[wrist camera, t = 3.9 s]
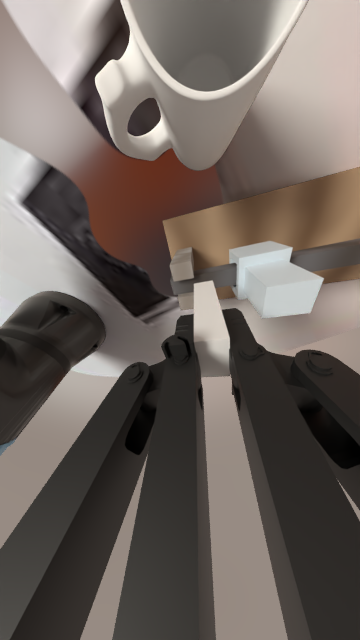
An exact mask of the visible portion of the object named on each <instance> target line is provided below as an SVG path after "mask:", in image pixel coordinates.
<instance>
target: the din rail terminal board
mask: <svg viewBox="0 0 360 640" xmlns="http://www.w3.org/2000/svg"><path fill="white" fill-rule="evenodd" d="M163 224H164V229H165V233H166V237H167V241H168V246H169V250H170V254H171V258H172V261H171V263H170V268H171V273H172V277H171V279H170V282H171V286H172V289H173V293H174V295H177V294H178V301H179V305H180V309H181V310H187V309H194V284H195V283H201V282H207V281H212V280H213V283H214V287H215V290H216V293H217V297H218V300H219V299H226V298H232V297H236V296H235V294H234V292H233V290H232V288H231V285H236V280H237V264H236V263H231V264H229V249H234V248H238V247H243V246H248V245H252V244H257V243H262V242H266V241H273V242H276V243H279V244H283V245H286V246H289V247H293V249H292V253H291V257H290V263H292V264H294V265H296V266H299V267H301V268H303V269H305V270H307V271H309V272H312V273H314V274H316V275H318V276H320V277H322V278H324V280H323V282H322V284H325V283H332V282H338V281H345V280H352V279H358V278H360V167H357V168H354V169H350V170H346V171H343V172H339V173H336V174H332V175H328V176H325V177H321V178H317V179H314V180H310V181H306V182H303V183H299V184H295V185H292V186H288V187H284V188H281V189H277V190H274V191H270V192H266V193H263V194H259V195H255V196H252V197H248V198H244V199H241V200H237V201H233V202H230V203H226V204H222V205H219V206H215V207H211V208H208V209H205V210H201V211H197V212H193V213H190V214H186V215H182V216H179V217H175V218H171V219H168V220H164V221H163Z"/></svg>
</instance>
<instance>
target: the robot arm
mask: <svg viewBox="0 0 360 640" xmlns="http://www.w3.org/2000/svg"><path fill="white" fill-rule="evenodd" d="M175 331H176V332H175V335H172V336H170V337H169V338H167V339H166V340H165V341H164V342H163V344H162V346H161V347H162V350H163V352H164V355H165V357H166V359H165V360H164V361H162V362H160V363H157V364H155V365H152V366H149V367H148V365H147V364H146V363H143V362H137V363H134V364H132V365H130V366H129V367H127V368H126V369H125V371H124V372H123V373H122V374H121V376H120V377H119V379H118V380H117V382H116V383H115V384H114V386H113V387H112V389H111V390H110V392H109V393H108V395H107V396H106V397H105V399H104V400H103V402H102V403H101V405H100V406H99V408H98V409H97V411H96V412H95V414H94V415H93V416H92V418H91V419H90V421H89V422H88V423H87V425H86V426H85V428H84V429H83V431H82V432H81V434H80V435H79V437H78V438H77V440H76V441H75V442H74V444H73V445H72V447H71V448H70V449H69V451H68V452H67V454H66V455H65V457H64V458H63V460H62V461H61V462H60V464H59V465H58V467H57V468H56V470H55V471H54V473H53V474H52V475H51V477H50V479H49V480H48V481H47V483H46V484H45V486H44V487H43V488H42V490H41V492H40V493H39V494H38V496H37V497H36V499H35V500H34V501H33V503H32V504H31V506H30V507H29V509H28V510H27V512H26V513H25V515H24V516H23V517H22V519H21V520H20V522H19V523H18V525H17V526H16V527H15V529H14V530H13V532H12V533H11V535H10V536H9V538H8V539H7V541H6V542H5V543H4V545H3V547H2V548H1V549H0V640H80V637H81V635H82V632H83V629H84V627H85V624H86V621H87V618H88V616H89V613H90V610H91V607H92V605H93V602H94V599H95V597H96V593H97V591H98V588H99V585H100V583H101V580H102V577H103V574H104V572H105V569H106V566H107V563H108V561H109V558H110V555H111V552H112V550H113V547H114V544H115V542H116V539H117V536H118V533H119V531H120V528H121V525H122V523H123V520H124V517H125V514H126V512H127V508H128V506H129V503H130V501H131V498H132V495H133V492H134V490H135V487H136V484H137V481H138V478H139V476H140V473H141V470H142V468H143V465H144V462H145V459H146V457H147V454H148V457H147V462H146V468H145V472H144V478H143V483H142V488H141V493H140V499H139V504H138V509H137V514H136V519H135V525H134V530H133V535H132V541H131V546H130V550H129V556H128V561H127V566H126V571H125V576H124V582H123V587H122V592H121V597H120V603H119V608H118V613H117V618H116V623H115V628H114V634H113V639H112V640H216V634H215V615H214V597H213V577H212V558H211V539H210V522H209V521H210V520H209V502H208V482H207V463H206V445H205V425H204V406H203V388H202V384H201V377H218V376H230V374H231V378H232V395H234V398H235V402H236V406H237V411H238V416H239V420H240V425H241V429H242V434H243V438H244V443H245V447H246V452H247V457H248V461H249V465H250V470H251V474H252V479H253V483H254V488H255V493H256V497H257V502H258V506H259V511H260V515H261V520H262V524H263V529H264V533H265V538H266V542H267V547H268V551H269V555H270V560H271V564H272V569H273V574H274V578H275V583H276V587H277V592H278V596H279V601H280V605H281V610H282V614H283V619H284V623H285V628H286V633H287V636H288V640H360V521H359V519H358V517H357V515H356V513H355V512H354V510H353V508H352V506H351V504H350V502H349V501H348V499H347V497H346V495H345V493H344V491H343V490H342V488H341V486H340V484H341V485H342V486H343V488H344V489H345V490H346V492H347V493H348V495H349V496H350V497H351V499H352V500H353V501H354V503H355V504H356V506H357V507H358V508H359V510H360V375H359V374H358V373H356V372H355V371H353V370H352V369H351V368H349V367H348V366H347V365H345V364H344V363H342V362H341V361H340V360H338V359H336V358H335V357H333V356H331V355H329V354H327V353H324V352H321V351H316V350H302V351H300V352H298V353H297V354H296V356H295V357H291V356H285V355H279V354H275V353H271V352H269V351H267V350H266V349H265V348H264V347H263V346H261V345H260V344H258V343H257V342H256V340H255V338H254V336H253V334H252V332H251V330H250V328H249V326H248V324H247V322H246V320H245V319H244V316H243V314H242V312H241V311H239V310H238V309H236V308H233V309H225V310H221V307H220V304H219V300H218V297H217V293H216V290H215V287H214V283H213V280H212V281H207V282H201V283H195V284H194V314H191V315H184V316H180V318H179V319H178V320H177V324H176V330H175ZM105 336H106V331H105V327H104V325H103V323H102V321H101V319H100V318H99V317H98V315H97V314H96V313H95V312H94V311H93V310H92V309H91V308H90V307H88V306H87V305H86V304H84V303H83V302H81V301H79V300H78V299H76V298H74V297H72V296H69V295H67V294H63V293H60V292H54V291H45V292H40V293H38V294H36V295H34V296H32V297H30V298H28V299H26V300H25V301H24V302H23V303H22V304H21V305H20V306H19V307H18V308H17V309H16V310H15V312H14V313H13V314H12V315H11V316H10V317H9V318H8V319H7V321H6V322H5V323H4V324H3V325H2V326H1V327H0V455H1V454H2V453H3V452H4V451H5V450H6V448H7V447H8V446H10V445H11V444H13V443H14V442H15V440H16V438H17V437H18V436H19V434H20V433H21V432H22V430H23V429H24V428H25V427H26V425H27V424H28V423H29V421H30V420H31V419H32V418H33V416H34V415H35V414H36V412H37V411H38V410H39V409H40V407H41V406H42V405H43V404H44V402H45V401H46V400H47V399H48V397H49V396H50V395H51V393H52V392H53V391H54V389H55V388H56V387H57V386H58V384H59V383H60V382H61V381H62V379H63V378H64V377H65V375H66V374H67V373H68V372H69V371H70V369H71V368H72V367H73V366H75V365H76V364H78V363H79V362H80V361H82V360H83V359H85V358H86V357H87V356H89V355H90V354H92V353H93V352H95V351H96V350H97V349H98V348H99V347H100V345H101V344H102V343H103V341H104V339H105ZM148 451H149V452H148ZM336 478H337V479H336ZM338 481H339V482H340V484H339V482H338Z"/></svg>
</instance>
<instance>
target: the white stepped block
mask: <svg viewBox="0 0 360 640" xmlns="http://www.w3.org/2000/svg"><path fill="white" fill-rule="evenodd" d="M292 249H293V247H289V246H286V245H283V244H279V243H276V242H273V241H266V242H262V243H257V244H252V245H248V246H243V247H238V248H234V249H229V264H231V263H236V264H237V280H236V285H231V288H232V290H233V292H234V294H235V296H236V297H237V299H238V300H241V299H249V301H250V302H251V304H252V305H253V307H254V308H255V309H256V311H257V312H258V314H259V315H260V317H261V318H262V319H263V318H272V317H280V316H289V315H297V314H305V313H311V310H312V307H313V305H314V302H315V300H316V297H317V295H318V292H319V290H320V287H321V285H322V282H323V280H324V278H322V277H320V276H318V275H316V274H314V273H312V272H309V271H307V270H305V269H303V268H301V267H299V266H296V265H294V264H292V263H290V257H291V253H292Z"/></svg>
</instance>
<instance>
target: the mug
mask: <svg viewBox="0 0 360 640" xmlns="http://www.w3.org/2000/svg"><path fill="white" fill-rule="evenodd" d="M120 1H121V4H122V7H123V10H124V13H125V16H126V18H127V21H128V24H129V26H130V39H129V44H128V47H127V50H126V52H125V53H124V55H123V57H122V58H121V59H120V60H118V61H116V60H111V61H109V62H108V63H107V64H106V66H105V67H104V68H103V69H102V70H101V71H100V72H99V73H98V74H97V75H96V78H95V83H96V87H97V90H98V92H99V94H100V96H101V99H102V102H103V108H104V113H105V118H106V122H107V126H108V129H109V132H110V135H111V137H112V139H113V141H114V143H115V145H116V146H117V147H118V149H119V150H120V151H122V152H123V153H124V154H126V155H128V156H130V157H134V158H139V159H145V160H150V161H153V160H155V159H156V158H158V157H159V156H160V155H161V154H162V153H163V152H164V151H166V150H167V149H169V148H173V149H174V152H175V154H176V155H177V157H178V159H179V160H180V161H181V162H182V163H183V164H184V165H185V166H186V167H188V168H189V169H192V170H197V171H200V170H205V169H208V168H210V167H211V166H213V165H214V164H215V163H216V162H217V161H218V160H219V159H220V158H221V157H222V155H223V154H224V152H225V151H226V149H227V147H228V146H229V144H230V142H231V141H232V139H233V137H234V135H235V133H236V132H237V130H238V128H239V126H240V124H241V123H242V121H243V119H244V117H245V115H246V114H247V112H248V110H249V108H250V107H251V105H252V103H253V101H254V99H255V98H256V96H257V94H258V92H259V91H260V89H261V87H262V85H263V84H264V82H265V80H266V78H267V76H268V74H269V73H270V71H271V69H272V67H273V65H274V63H275V62H276V60H277V58H278V56H279V54H280V52H281V50H282V48H283V46H284V44H285V42H286V40H287V38H288V36H289V34H290V33H291V31H292V30H293V28H294V26H295V25H296V23H297V21H298V19H299V18H300V16H301V14H302V12H303V10H304V9H305V7H306V5H307V3H308V1H309V0H120ZM147 98H155V99H156V100H157V103H158V106H159V109H160V112H161V119H160V122H159V123H158V125H157V126H156V127H155V128H154V129H153V130H152V131H150V132H149V133H147V134H145V135H142V136H138V137H135V136H132V135H130V134H129V133H128V132H127V124H128V121H129V118H130V116H131V113H132V112H133V111H134V109H135V108H136V107H137V105H138V104H140V103H141V102H142V101H143V100H145V99H147Z"/></svg>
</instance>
